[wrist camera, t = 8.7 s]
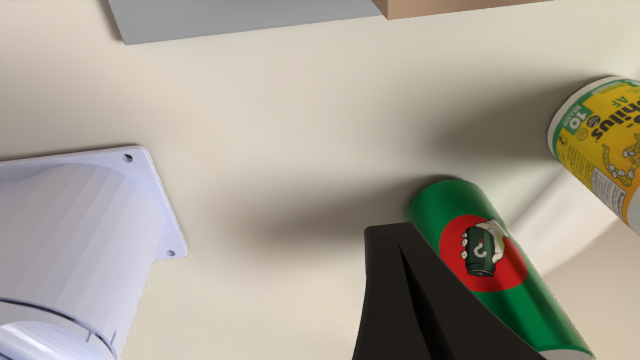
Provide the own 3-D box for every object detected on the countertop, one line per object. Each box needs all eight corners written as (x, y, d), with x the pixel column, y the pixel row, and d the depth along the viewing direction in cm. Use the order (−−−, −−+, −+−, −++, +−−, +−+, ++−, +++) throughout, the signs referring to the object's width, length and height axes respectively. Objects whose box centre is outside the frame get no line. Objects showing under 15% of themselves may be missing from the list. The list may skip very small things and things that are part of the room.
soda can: (385, 214, 25) (453, 422, 15) (447, 159, 22) (573, 359, 13) (437, 247, 27) (526, 447, 17) (498, 199, 25) (639, 397, 15)
